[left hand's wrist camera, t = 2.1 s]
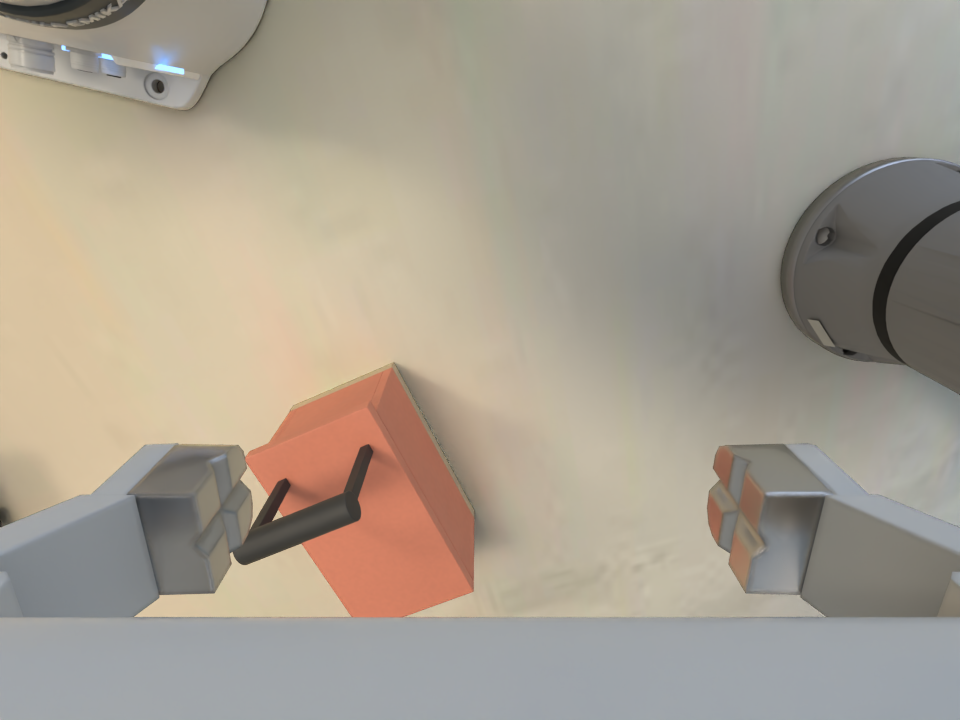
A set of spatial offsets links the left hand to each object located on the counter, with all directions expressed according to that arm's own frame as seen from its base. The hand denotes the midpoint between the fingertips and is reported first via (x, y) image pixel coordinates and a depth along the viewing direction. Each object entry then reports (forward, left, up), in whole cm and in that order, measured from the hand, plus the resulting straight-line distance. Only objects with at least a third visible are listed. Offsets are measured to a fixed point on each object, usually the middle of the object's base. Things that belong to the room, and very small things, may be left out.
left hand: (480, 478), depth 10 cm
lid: (-8, -21, -28) cm, 36 cm away
